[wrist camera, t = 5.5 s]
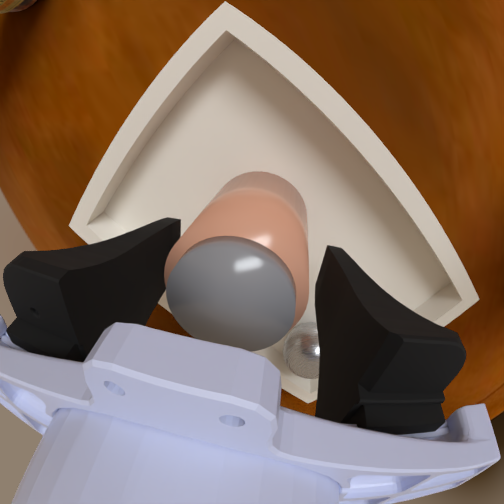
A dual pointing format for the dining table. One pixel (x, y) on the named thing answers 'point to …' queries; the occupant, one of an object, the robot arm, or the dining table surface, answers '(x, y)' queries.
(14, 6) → the sauce bottle
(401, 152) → the dining table surface
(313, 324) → the mixing ball
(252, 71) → the dish
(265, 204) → the shaker
